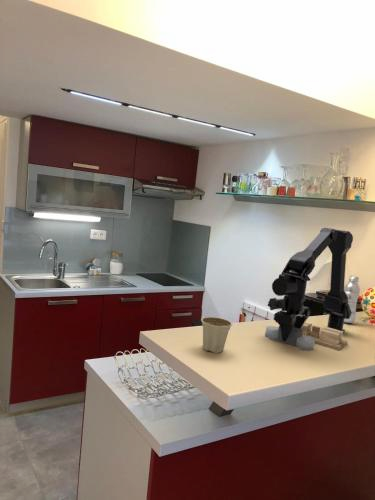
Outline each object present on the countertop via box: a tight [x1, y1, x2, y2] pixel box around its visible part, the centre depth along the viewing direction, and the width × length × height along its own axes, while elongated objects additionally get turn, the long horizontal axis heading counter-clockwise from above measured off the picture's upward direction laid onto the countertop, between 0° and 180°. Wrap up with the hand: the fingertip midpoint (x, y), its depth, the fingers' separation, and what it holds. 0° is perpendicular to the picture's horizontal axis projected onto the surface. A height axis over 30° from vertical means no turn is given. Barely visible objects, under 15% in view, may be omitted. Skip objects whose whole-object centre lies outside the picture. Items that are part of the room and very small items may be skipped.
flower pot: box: [200, 316, 233, 353], centre depth 123 cm, size 9×9×9 cm
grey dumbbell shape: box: [264, 325, 316, 351], centre depth 139 cm, size 6×17×5 cm, turn 55°
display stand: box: [301, 320, 348, 351], centre depth 146 cm, size 10×20×4 cm, turn 55°
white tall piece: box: [344, 275, 361, 324], centre depth 173 cm, size 6×7×20 cm
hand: (289, 338), depth 139 cm, fingers open, 9 cm apart
